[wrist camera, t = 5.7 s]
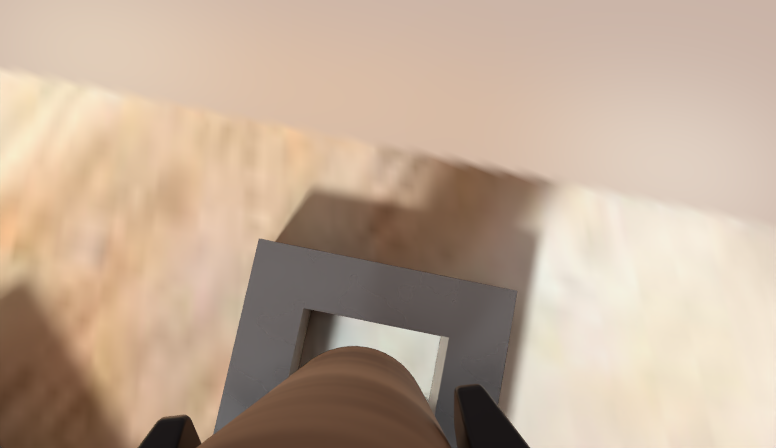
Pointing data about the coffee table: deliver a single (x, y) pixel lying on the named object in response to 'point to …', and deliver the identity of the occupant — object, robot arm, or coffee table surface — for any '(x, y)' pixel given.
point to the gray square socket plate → (369, 303)
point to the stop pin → (338, 408)
